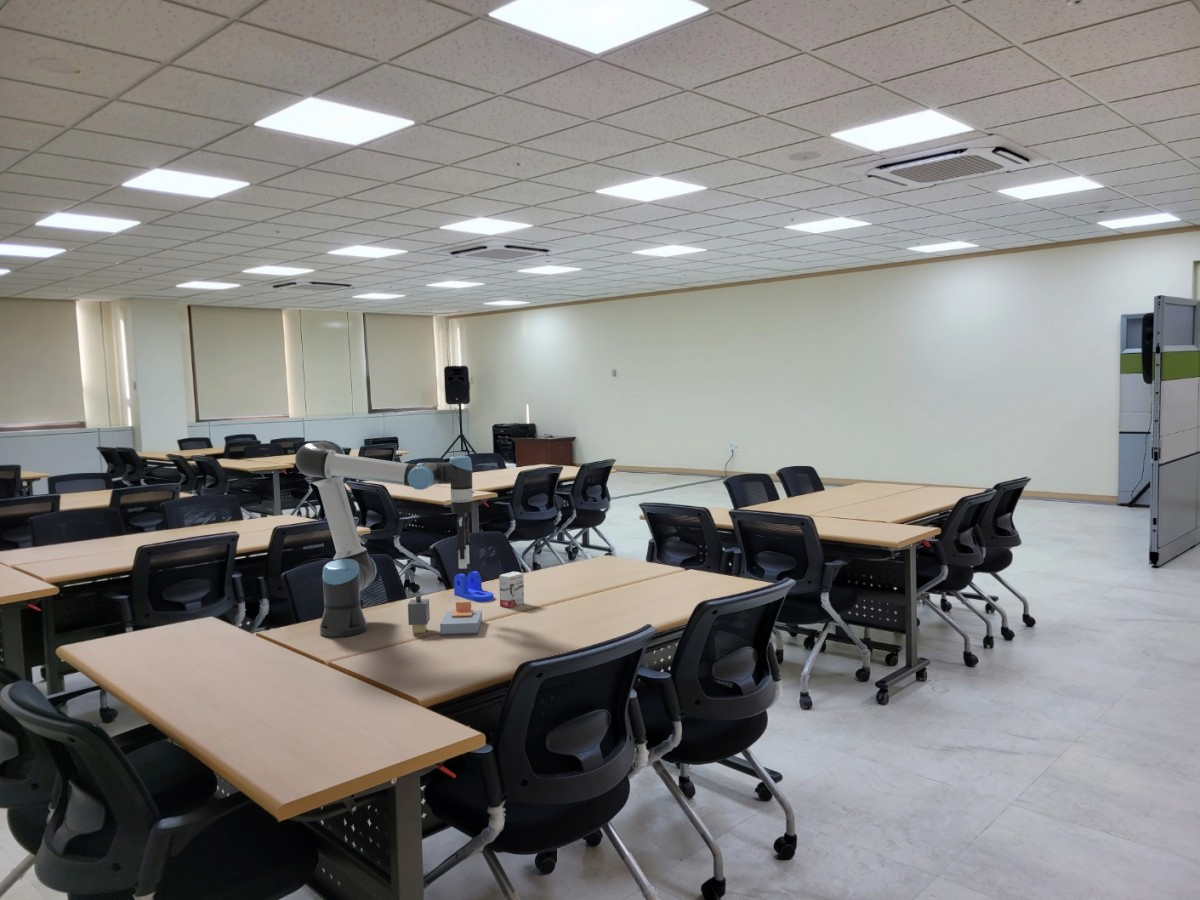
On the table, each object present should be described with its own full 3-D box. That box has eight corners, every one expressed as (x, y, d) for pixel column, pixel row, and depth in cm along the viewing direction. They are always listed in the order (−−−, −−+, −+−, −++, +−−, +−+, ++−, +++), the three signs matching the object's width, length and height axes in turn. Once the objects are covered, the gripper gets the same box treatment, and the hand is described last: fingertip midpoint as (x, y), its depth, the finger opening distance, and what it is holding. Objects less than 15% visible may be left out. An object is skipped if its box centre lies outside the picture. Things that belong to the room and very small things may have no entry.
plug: (408, 633, 275) (407, 598, 274) (412, 628, 281) (410, 593, 280) (427, 633, 275) (425, 597, 274) (430, 628, 281) (428, 593, 280)
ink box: (509, 608, 305) (508, 576, 304) (499, 606, 308) (498, 575, 307) (524, 603, 312) (524, 572, 311) (515, 601, 315) (514, 571, 314)
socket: (440, 636, 271) (440, 624, 271) (447, 622, 287) (447, 611, 287) (477, 634, 272) (477, 622, 272) (482, 621, 288) (481, 610, 287)
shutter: (451, 616, 279) (451, 606, 279) (454, 611, 285) (453, 601, 285) (471, 616, 279) (471, 606, 279) (473, 611, 286) (473, 601, 285)
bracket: (454, 595, 327) (453, 573, 327) (472, 592, 333) (471, 569, 332) (479, 603, 314) (478, 580, 313) (497, 599, 319) (497, 576, 319)
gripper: (469, 504, 278) (471, 571, 280) (476, 496, 298) (478, 559, 300) (447, 504, 278) (449, 572, 280) (455, 497, 298) (457, 560, 300)
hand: (464, 565), depth 290 cm, fingers open, 7 cm apart
